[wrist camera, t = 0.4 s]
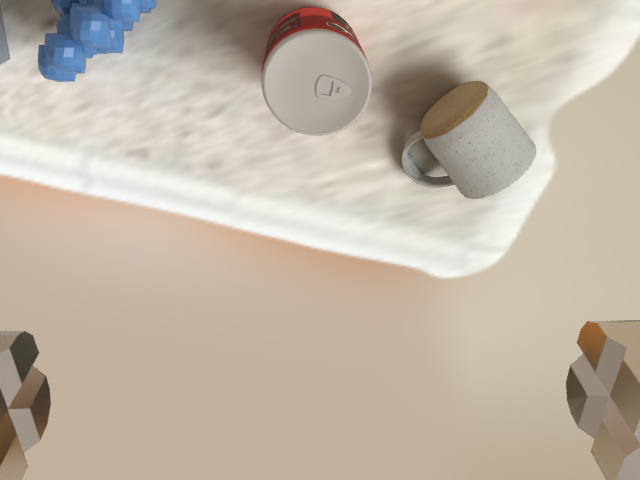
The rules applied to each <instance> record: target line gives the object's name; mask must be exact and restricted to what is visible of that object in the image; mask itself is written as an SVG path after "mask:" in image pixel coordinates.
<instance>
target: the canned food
mask: <svg viewBox="0 0 640 480" xmlns="http://www.w3.org/2000/svg"><path fill="white" fill-rule="evenodd" d="M371 87H372V79H371V71H370V68H369V64H368V61H367V58H366V56H365V54H364V52H363V50H362V48H361V46H360V44H359V42H358V40H357V38H356V36H355V34H354V32H353V30H352V28H351V27H350V26H349V24H348V23H347V22H346V21H345V20H344V19H343V18H341V17H340V16H339V15H337V14H335V13H334V12H332V11H330V10H326V9H323V8H316V7H309V8H301V9H298V10H295V11H293V12H291V13H289V14H287V15H286V16H284V17H283V18H282V19H281V20H280V21H279V22H278V23H277V24H276V26H275V27H274V28H273V30H272V32H271V34H270V36H269V40H268V44H267V49H266V54H265V59H264V64H263V69H262V90H263V95H264V98H265V101H266V103H267V106H268V108H269V109H270V111H271V112H272V114H273V115H274V116H275V117H276V118H277V119H278V120H279V121H280V122H281V123H282V124H284V125H285V126H286V127H288V128H289V129H292V130H294V131H296V132H298V133H302V134H306V135H314V136H321V135H329V134H333V133H336V132H339V131H341V130H343V129H345V128H347V127H348V126H350V125H351V124H352V123H353V122H355V121H356V120H357V119H358V117H359V116H360V115H361V114H362V113H363V111H364V109H365V108H366V106H367V104H368V101H369V98H370V95H371Z"/></svg>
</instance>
